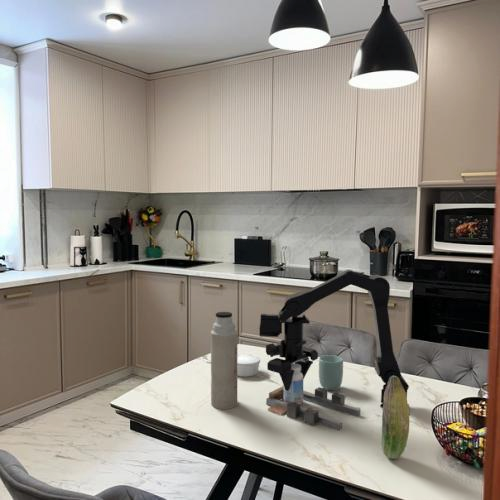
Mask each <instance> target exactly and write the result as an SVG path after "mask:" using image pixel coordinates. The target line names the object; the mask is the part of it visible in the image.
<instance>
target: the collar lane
mask: <svg viewBox="0 0 500 500" xmlns="http://www.w3.org/2000/svg"><path fill="white" fill-rule="evenodd" d="M345 396H346V395H345V394H344V393H340V392H334V393H333V394H331V399H329V398H328V390H327V389H324V388H323V387H320V386H319V387H317V388H315V389H314V393H312V392H309V391H306V390H303V401H304V400H305V401H308V402H311V403H314V404H317V405H320V406H323V407H326V408H328V409H332V410H336V411H338V412H341V413H344V414H347V415H350V416H354V417H356V418H359V417H360V416H361V411H362V410H361V408H357V407H354V406H351V405H349V404H346V403H345V401H346V400H345V399H346V397H345ZM282 400H283V401H282ZM265 403H266V405H267V406H269V407H268V408H267V411H268V412H271V413H274V414H276V415H280V416H284V415H285V414H286V417H287V418H290V419H293V420H295V421H296V420H297V419H299V418H301V417H302V418H304V419H303V420H304V424H306V425H309V426H312V427H315V426H316V425H318V424H320V425H323V426H325V427H326V426H327V427H328V428H332V429H334V430H337V431H341V430H342V429H343V421H340V420H338V419H335V418H331V417H329V416H326V415H323V414H321V413H319V412H320V411H319V410H318V409H315V408H311V407H308V408H307V409H306V408H302V405H301V404H297V403H294V402H291V403H289V404H288V403H285V402H284V390H283V385H282V386H281V387H278V388H276V389H274V390H272V391H270V392H269V393H268V397H267V398H266V401H265Z"/></svg>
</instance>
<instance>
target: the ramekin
mask: <svg viewBox="0 0 500 500" xmlns="http://www.w3.org/2000/svg"><path fill="white" fill-rule="evenodd" d="M260 363H261V357H260V356H257V355H254V354H250V353H249V354H248V353H246V354H245V353H244V354H243V353H241V354H237V377H242V378H249V377H253V376H255V375H257V373H258V371H259V368H260Z"/></svg>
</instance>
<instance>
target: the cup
mask: <svg viewBox="0 0 500 500" xmlns="http://www.w3.org/2000/svg"><path fill="white" fill-rule="evenodd" d="M343 377H344V358H343V357H342V356H338V355H334V354H326V355H325V354H324V355H321V356H320V357H318V380H319V384H320V386H321V388H323V389H327V391H336V390H338V389H339V388H340V387H341V386H342V383H343Z"/></svg>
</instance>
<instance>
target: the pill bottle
mask: <svg viewBox="0 0 500 500" xmlns="http://www.w3.org/2000/svg"><path fill="white" fill-rule="evenodd" d="M291 370H294V374H293V378H292V382H291V385H290V389H289V391H287V390H285V388H284V385H283V384H282V386H283V390H284V398H283V402H285V403H288V404H289V403H291V402H294V403H297V404H300V405H301V404H302V403H304V399H303V391H304V379H303V374H302V373H301V372H300V371H301V365H299V364H295V363H293V364H291Z"/></svg>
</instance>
